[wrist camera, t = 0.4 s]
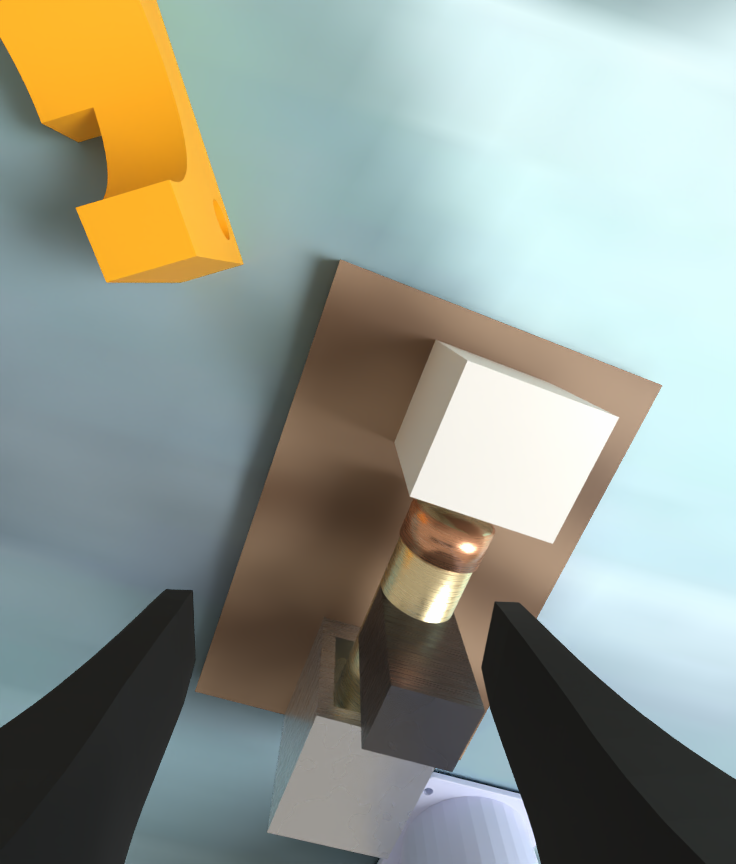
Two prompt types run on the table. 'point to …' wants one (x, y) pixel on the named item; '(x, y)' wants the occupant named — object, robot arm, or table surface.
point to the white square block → (498, 443)
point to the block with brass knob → (418, 644)
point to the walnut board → (385, 485)
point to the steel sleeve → (337, 764)
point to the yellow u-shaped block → (126, 133)
